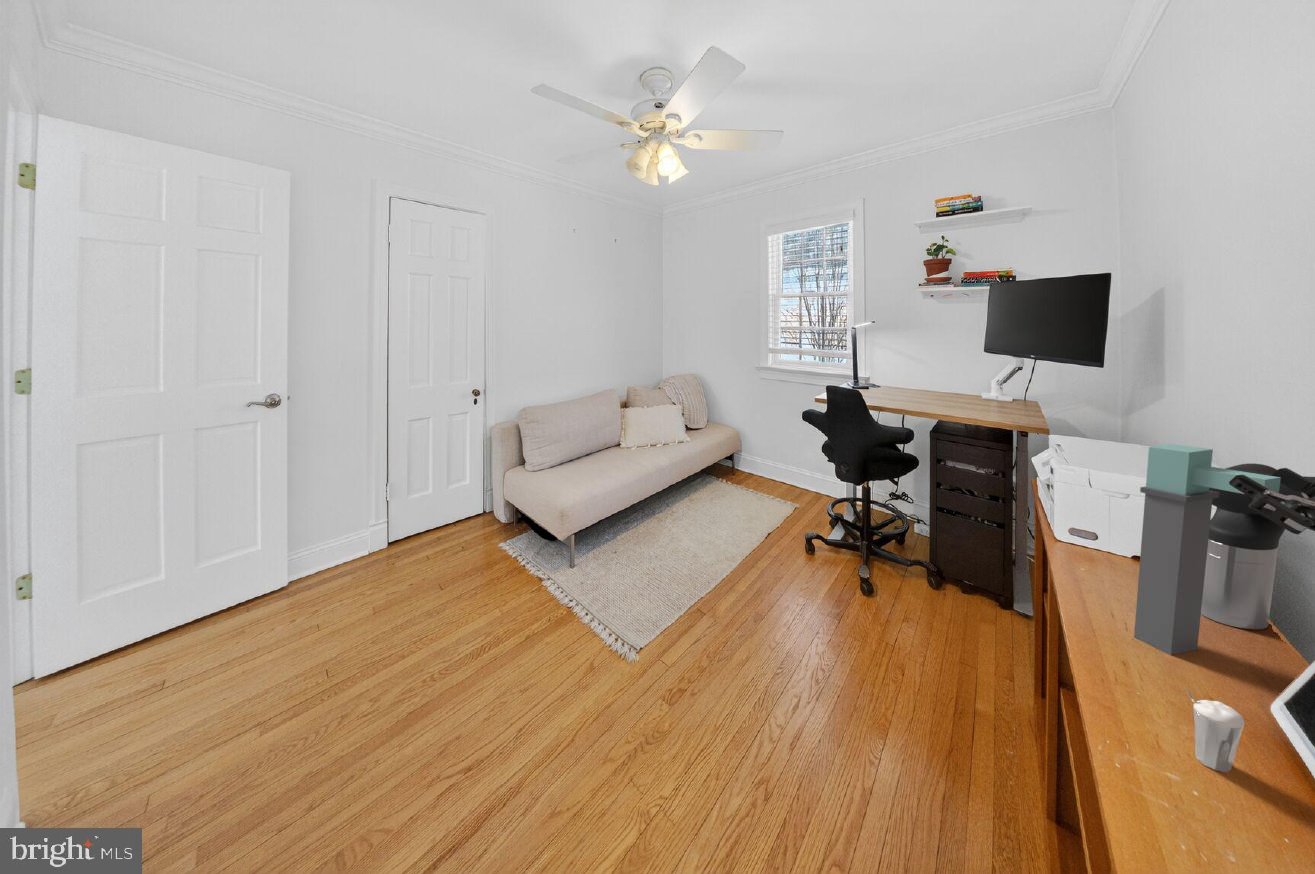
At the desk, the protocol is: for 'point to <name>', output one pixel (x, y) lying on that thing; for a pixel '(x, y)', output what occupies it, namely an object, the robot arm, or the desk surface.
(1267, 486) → the teal handle
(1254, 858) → the desk surface
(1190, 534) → the stand
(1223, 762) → the milkshake
